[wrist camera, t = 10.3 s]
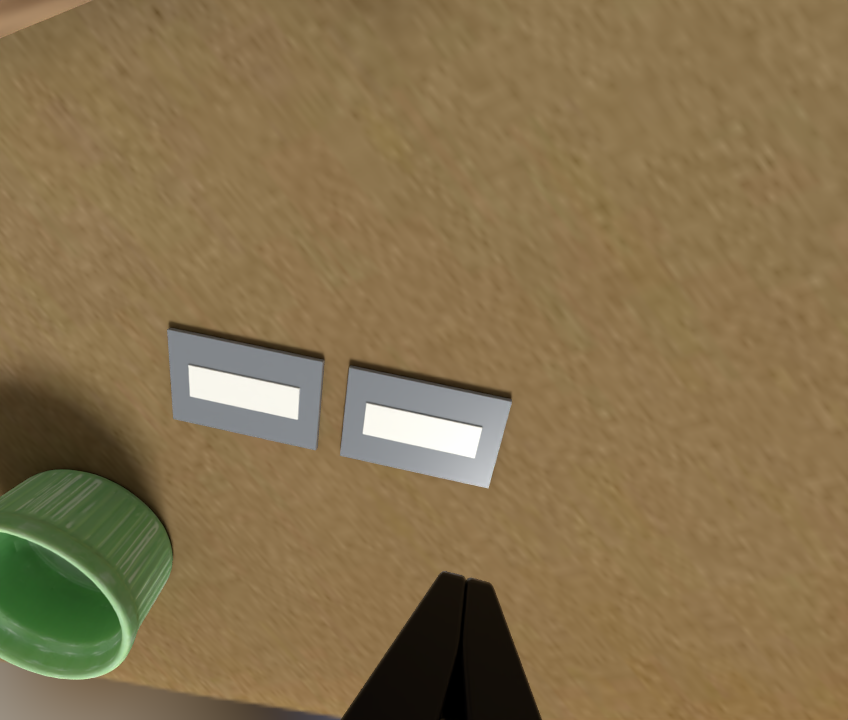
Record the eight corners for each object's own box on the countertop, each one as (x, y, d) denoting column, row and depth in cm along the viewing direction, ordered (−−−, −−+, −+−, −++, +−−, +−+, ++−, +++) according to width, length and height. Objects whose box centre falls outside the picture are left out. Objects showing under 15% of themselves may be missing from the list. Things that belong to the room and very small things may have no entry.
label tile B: (324, 360, 19) (322, 363, 19) (317, 447, 21) (315, 451, 21) (170, 327, 20) (166, 330, 20) (176, 416, 22) (172, 419, 21)
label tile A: (511, 399, 19) (511, 402, 19) (488, 485, 21) (488, 489, 21) (350, 365, 19) (348, 368, 19) (341, 452, 21) (339, 456, 21)
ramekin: (186, 617, 27) (132, 702, 24) (24, 571, 28) (-57, 647, 24) (188, 486, 23) (123, 562, 19) (-2, 434, 24) (-104, 498, 20)
